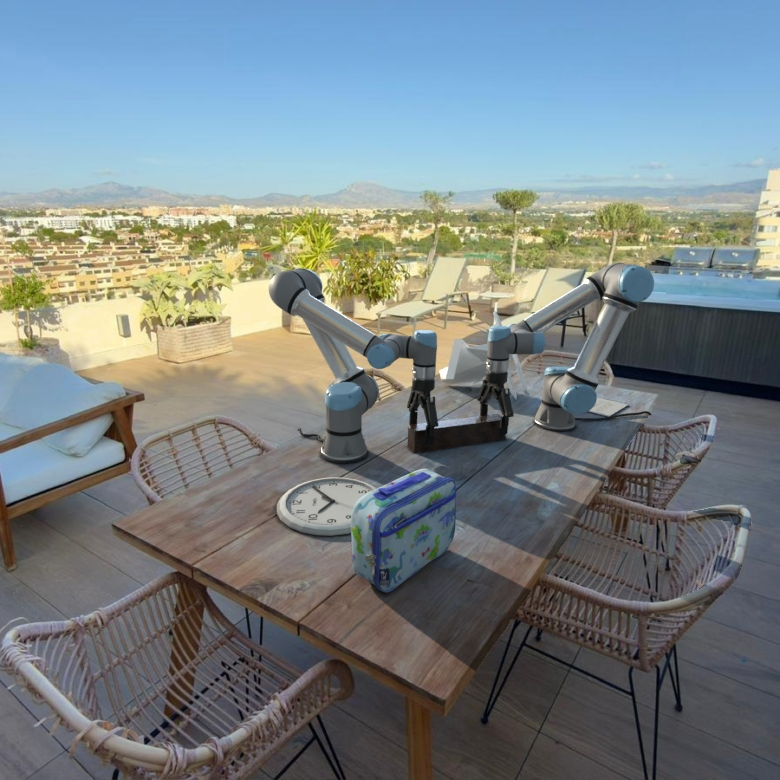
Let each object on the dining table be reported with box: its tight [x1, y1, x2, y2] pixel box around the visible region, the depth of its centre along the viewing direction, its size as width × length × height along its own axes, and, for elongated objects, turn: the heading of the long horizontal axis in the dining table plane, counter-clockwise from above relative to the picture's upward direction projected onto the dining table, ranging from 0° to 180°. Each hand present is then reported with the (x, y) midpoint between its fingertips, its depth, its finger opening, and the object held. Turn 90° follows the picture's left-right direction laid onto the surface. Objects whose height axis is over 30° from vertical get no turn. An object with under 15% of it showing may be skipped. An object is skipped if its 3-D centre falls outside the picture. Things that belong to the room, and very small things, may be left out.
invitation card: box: [587, 397, 629, 417], centre depth 226 cm, size 21×1×15 cm
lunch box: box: [350, 468, 457, 593], centre depth 114 cm, size 26×11×21 cm, turn 134°
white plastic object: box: [438, 310, 531, 400], centre depth 245 cm, size 37×45×31 cm
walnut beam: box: [407, 413, 507, 454], centre depth 184 cm, size 36×6×8 cm, turn 111°
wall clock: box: [276, 476, 378, 537], centre depth 142 cm, size 30×2×30 cm
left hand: (420, 436), depth 180 cm, fingers open, 13 cm apart
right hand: (493, 427), depth 189 cm, fingers open, 13 cm apart
